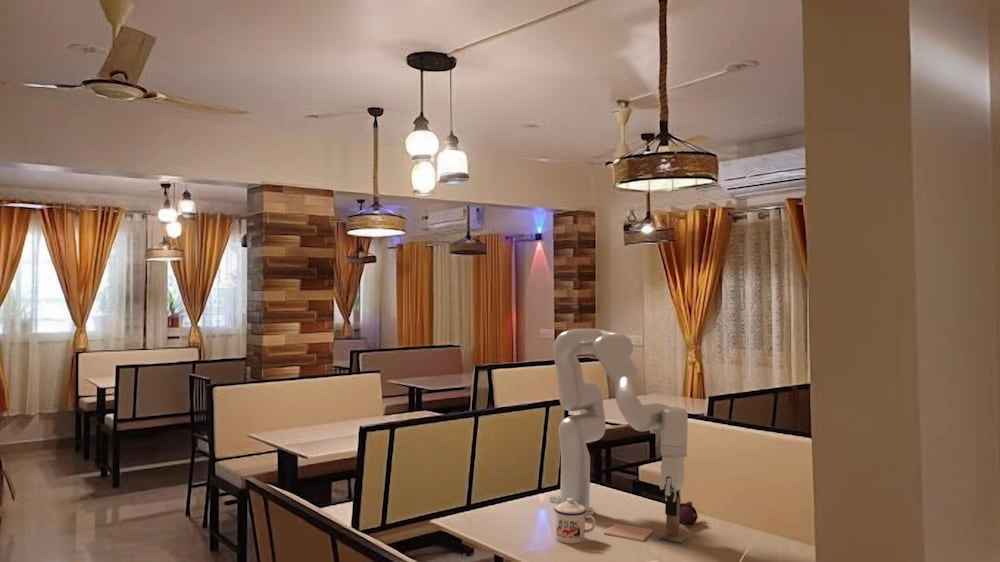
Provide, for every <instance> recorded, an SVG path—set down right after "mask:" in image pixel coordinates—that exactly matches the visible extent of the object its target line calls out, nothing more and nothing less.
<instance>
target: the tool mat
mask: <svg viewBox="0 0 1000 562" xmlns="http://www.w3.org/2000/svg"><path fill="white" fill-rule="evenodd" d="M693 540H694V537H689V536H687V538H686V539H685V540H684V541H683V543H680V542H675V541H670V540H665V539H659V538H658V534H657V535H655V537H654V538H652V540H651V542H655V543H660V544H666V545H671V546H677V547H682V548H687V547H688V546H689V545H690V543H691V542H692V541H693Z"/></svg>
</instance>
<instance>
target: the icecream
mask: <svg viewBox="0 0 1000 562" xmlns="http://www.w3.org/2000/svg"><path fill="white" fill-rule="evenodd" d="M697 520H698V513H697V510H696V508H695V507H694V505H693V502H692V501H690V500H689V501H687V502H680V516H679V524H681V525H689V526H692V525H693V524H695V522H697Z"/></svg>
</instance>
